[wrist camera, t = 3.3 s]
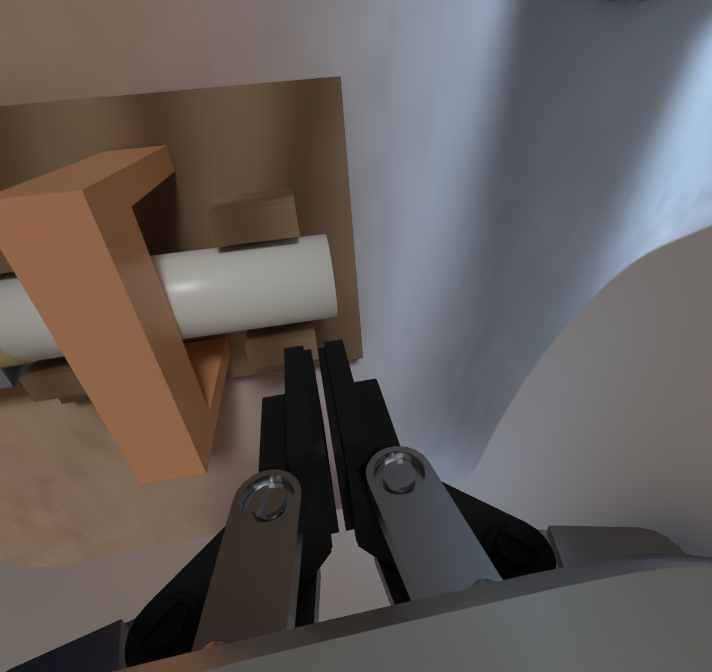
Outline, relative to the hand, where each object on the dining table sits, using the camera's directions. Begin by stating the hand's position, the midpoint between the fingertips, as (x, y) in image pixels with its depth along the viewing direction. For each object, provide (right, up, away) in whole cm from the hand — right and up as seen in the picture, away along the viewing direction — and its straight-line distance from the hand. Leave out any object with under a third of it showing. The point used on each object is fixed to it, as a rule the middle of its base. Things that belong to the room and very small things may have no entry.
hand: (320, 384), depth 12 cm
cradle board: (-8, +5, +8) cm, 12 cm away
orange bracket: (-7, +5, +7) cm, 11 cm away
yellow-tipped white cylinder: (-7, +4, +6) cm, 10 cm away
